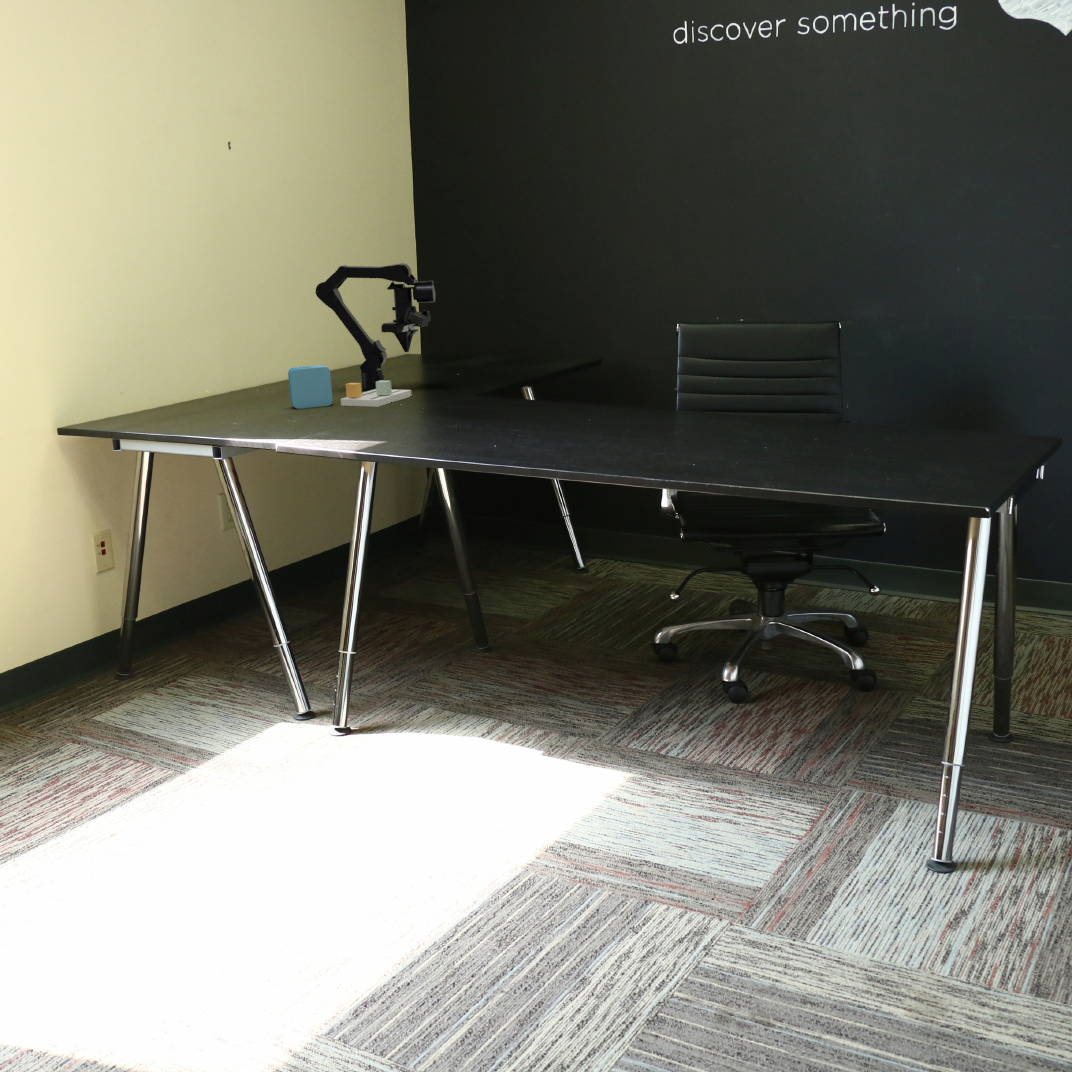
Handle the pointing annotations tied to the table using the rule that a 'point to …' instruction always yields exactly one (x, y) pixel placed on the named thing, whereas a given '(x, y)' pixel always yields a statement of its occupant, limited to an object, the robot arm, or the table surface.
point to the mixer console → (375, 398)
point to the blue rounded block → (310, 386)
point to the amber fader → (353, 390)
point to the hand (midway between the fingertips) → (406, 352)
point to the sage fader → (383, 387)
